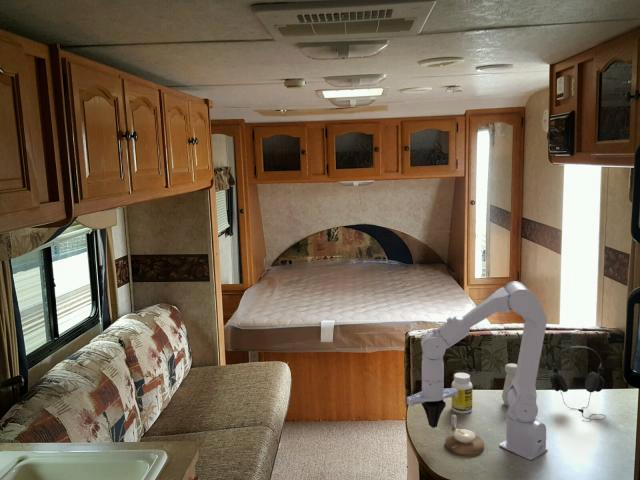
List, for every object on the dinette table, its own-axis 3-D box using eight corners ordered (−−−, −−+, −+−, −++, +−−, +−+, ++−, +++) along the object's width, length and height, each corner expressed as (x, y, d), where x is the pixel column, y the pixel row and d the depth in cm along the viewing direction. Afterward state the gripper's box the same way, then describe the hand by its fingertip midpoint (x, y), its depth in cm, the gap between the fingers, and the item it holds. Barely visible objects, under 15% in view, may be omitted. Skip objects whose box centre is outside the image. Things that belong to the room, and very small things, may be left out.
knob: (480, 439, 145) (480, 423, 144) (463, 444, 142) (463, 429, 142) (460, 426, 151) (460, 412, 151) (444, 432, 149) (444, 417, 148)
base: (491, 446, 145) (491, 439, 145) (467, 460, 139) (468, 452, 139) (461, 432, 153) (461, 425, 153) (437, 444, 147) (437, 437, 147)
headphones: (558, 421, 158) (560, 355, 155) (546, 403, 169) (548, 342, 166) (613, 422, 156) (616, 355, 153) (597, 404, 167) (600, 342, 164)
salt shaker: (500, 400, 172) (500, 361, 170) (519, 400, 171) (519, 361, 170) (504, 408, 167) (504, 368, 165) (523, 409, 166) (524, 368, 164)
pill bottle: (467, 416, 163) (467, 381, 161) (448, 411, 167) (448, 376, 165) (475, 408, 168) (475, 374, 166) (456, 403, 171) (456, 369, 170)
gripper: (447, 368, 151) (447, 414, 153) (401, 376, 146) (401, 424, 148) (462, 377, 144) (462, 425, 146) (414, 386, 140) (414, 436, 142)
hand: (432, 425), depth 147 cm, fingers closed
